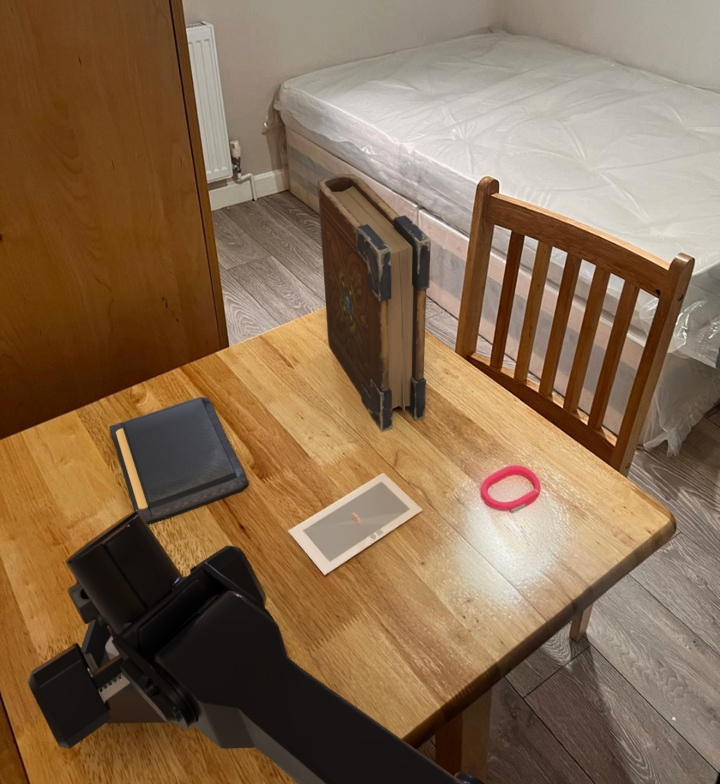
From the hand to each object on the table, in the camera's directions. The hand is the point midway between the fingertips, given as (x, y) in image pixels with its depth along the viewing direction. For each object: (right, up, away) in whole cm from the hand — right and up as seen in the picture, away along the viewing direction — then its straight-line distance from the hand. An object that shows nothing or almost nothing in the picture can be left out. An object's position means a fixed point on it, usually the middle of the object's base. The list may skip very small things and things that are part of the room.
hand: (138, 628), depth 67 cm
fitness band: (+40, +5, +28) cm, 49 cm away
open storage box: (-2, -9, +9) cm, 13 cm away
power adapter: (-2, -8, +9) cm, 13 cm away
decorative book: (+22, +18, +47) cm, 55 cm away
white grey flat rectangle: (+20, +2, +24) cm, 31 cm away
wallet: (-5, +8, +34) cm, 35 cm away
